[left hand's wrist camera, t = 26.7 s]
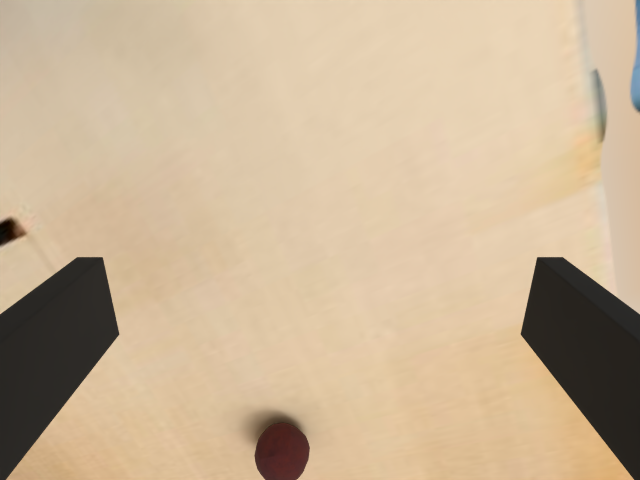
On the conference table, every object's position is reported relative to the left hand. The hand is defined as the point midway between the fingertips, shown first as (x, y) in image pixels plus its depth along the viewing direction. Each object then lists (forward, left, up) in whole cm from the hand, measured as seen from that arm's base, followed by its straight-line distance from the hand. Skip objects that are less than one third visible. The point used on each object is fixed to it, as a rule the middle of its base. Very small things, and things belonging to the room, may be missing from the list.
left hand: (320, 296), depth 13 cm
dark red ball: (+41, +5, -34) cm, 53 cm away
